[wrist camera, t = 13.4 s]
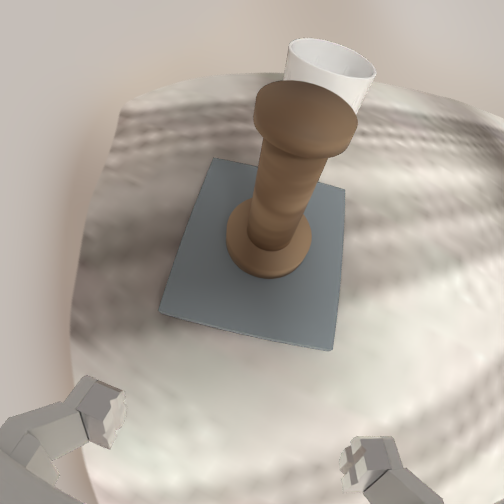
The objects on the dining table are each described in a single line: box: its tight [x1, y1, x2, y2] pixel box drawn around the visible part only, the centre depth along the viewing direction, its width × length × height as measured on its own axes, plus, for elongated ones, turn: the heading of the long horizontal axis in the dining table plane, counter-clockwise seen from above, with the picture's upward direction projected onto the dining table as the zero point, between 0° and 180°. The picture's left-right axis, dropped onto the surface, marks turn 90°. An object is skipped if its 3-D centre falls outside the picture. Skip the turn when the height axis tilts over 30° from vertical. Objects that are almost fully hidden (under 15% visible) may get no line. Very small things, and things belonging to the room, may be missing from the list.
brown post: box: [226, 80, 358, 279], centre depth 16 cm, size 6×6×12 cm
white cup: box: [283, 38, 376, 114], centre depth 24 cm, size 8×8×10 cm
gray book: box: [158, 158, 345, 351], centre depth 22 cm, size 12×14×1 cm
